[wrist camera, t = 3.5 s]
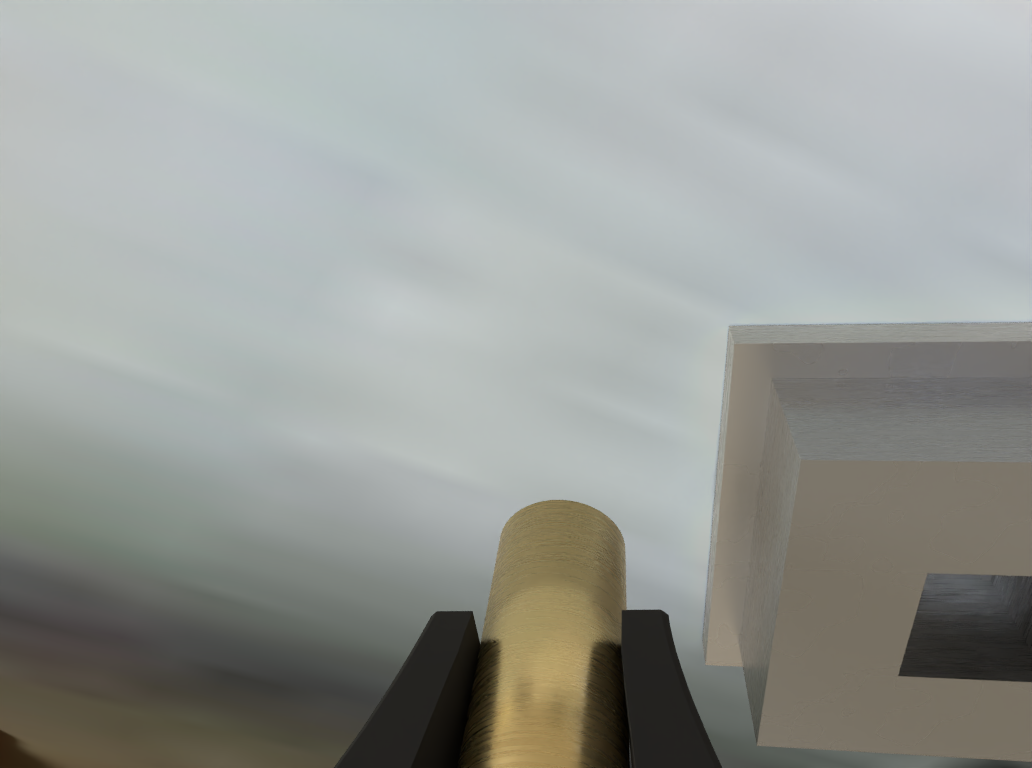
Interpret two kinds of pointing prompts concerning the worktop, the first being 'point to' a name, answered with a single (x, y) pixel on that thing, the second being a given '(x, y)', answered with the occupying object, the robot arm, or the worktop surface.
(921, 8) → the worktop surface
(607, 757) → the brass cylinder rod
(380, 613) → the worktop surface
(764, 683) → the chuck block
